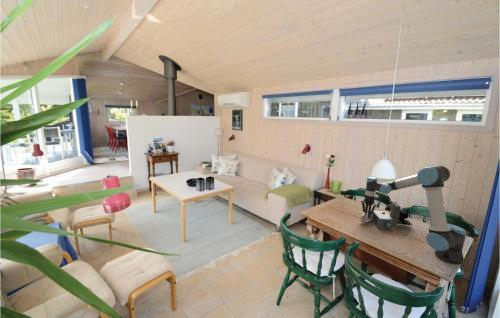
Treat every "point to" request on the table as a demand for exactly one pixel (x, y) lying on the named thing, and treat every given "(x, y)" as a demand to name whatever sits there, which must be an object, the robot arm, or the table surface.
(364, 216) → the side door
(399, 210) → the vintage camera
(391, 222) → the camera housing
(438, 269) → the table surface
